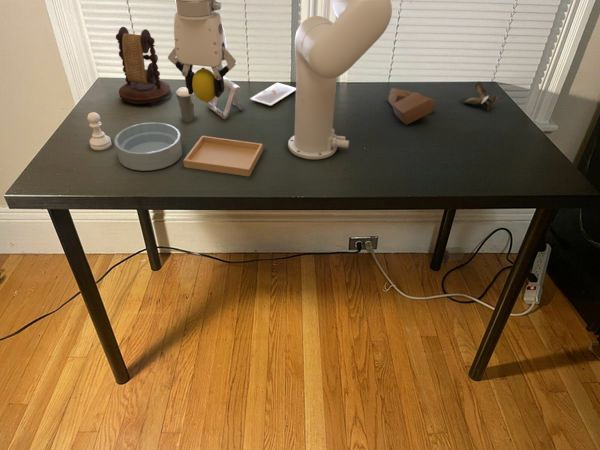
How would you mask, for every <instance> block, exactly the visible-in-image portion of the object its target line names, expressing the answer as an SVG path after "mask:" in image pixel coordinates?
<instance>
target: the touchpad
mask: <svg viewBox="0 0 600 450" xmlns="http://www.w3.org/2000/svg"><path fill="white" fill-rule="evenodd" d="M293 92H296V86H295V87H294V86H290V85H287V84H285V83H280V82H276V83H274V84H272V85H270V86H269V87H267V88H266V89H264V90H262V91H260V92H258V93H256V94H255V95H253V96H251V97H250V98H249V100H251V101H254V102H258V103H261V104H264V105H267V106H273V105H274V104H276V103H278V102H279V101H280V100H283V99H285V98H286V97H288V96H289V95H290V94H292V93H293Z"/></svg>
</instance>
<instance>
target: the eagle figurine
mask: <svg viewBox="0 0 600 450" xmlns="http://www.w3.org/2000/svg"><path fill="white" fill-rule="evenodd" d="M475 90H476V93H477V95H478V96H479V97H469V98H467V99H464V100H463V101H462V103H463V104H472V105H477V104H479V103H480V105H483V106H485V107H486V111H487V112H489V110H490V108H491V107H492V106H493V104H494V103H495V102H496V101H497V100H499V98H500V97H501V96H502V94H499V95H498V96H496V95H493V96H492V99H490V98H489V97H490V96H489V95H488V92H487V90H486V88H484V85H483V82H482V81H476V84H475ZM486 102H489V103H486Z"/></svg>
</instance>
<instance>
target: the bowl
mask: <svg viewBox="0 0 600 450" xmlns="http://www.w3.org/2000/svg"><path fill="white" fill-rule="evenodd" d="M113 142H114V146H115V149H116V153H117V157H118V162H119V163H120V164H121V165H122V166H124V168H128V169H130V170H135V171H141V172H143V171H145V172H146V171H147V172H148V171H156V170H160V169H165V168H167V167H170V166H172V165H174V164H175V163H177V162H179V160H180V159H181V157H182V156H183V152H184V148H183V142H182V136H181V132H180V130H179V129H178V128H176V127H175V126H174V125H171V124H168V123H164V122H157V121H155V122H153V121H152V122H142V123H136V124H133V125H130V126H128V127H125V128H124V129H122V130H120V131H119V132H118V133H117V134H115V137H114V139H113Z"/></svg>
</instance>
